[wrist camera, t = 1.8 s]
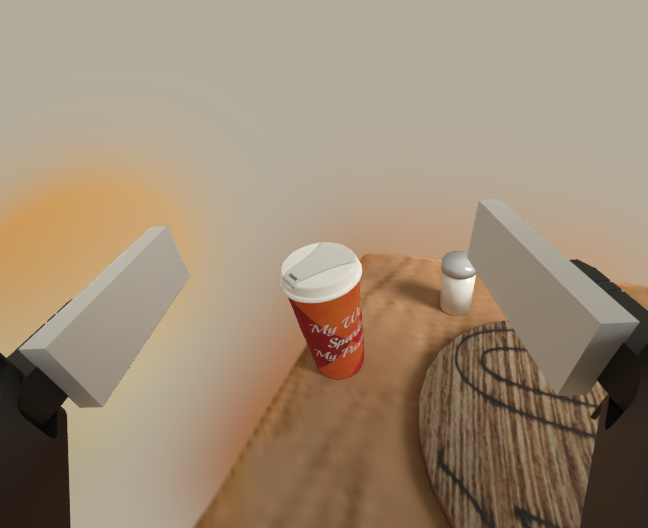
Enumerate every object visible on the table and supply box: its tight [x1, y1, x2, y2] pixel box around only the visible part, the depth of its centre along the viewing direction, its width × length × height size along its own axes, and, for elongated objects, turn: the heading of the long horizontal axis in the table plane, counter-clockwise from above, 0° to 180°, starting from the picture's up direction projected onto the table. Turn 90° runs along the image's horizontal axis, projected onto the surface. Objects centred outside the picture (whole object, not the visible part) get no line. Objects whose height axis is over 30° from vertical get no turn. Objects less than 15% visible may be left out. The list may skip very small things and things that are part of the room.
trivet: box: [419, 321, 608, 528], centre depth 23 cm, size 25×25×2 cm
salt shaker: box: [440, 251, 477, 316], centre depth 36 cm, size 4×4×7 cm
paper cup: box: [279, 242, 364, 379], centre depth 30 cm, size 8×8×14 cm
